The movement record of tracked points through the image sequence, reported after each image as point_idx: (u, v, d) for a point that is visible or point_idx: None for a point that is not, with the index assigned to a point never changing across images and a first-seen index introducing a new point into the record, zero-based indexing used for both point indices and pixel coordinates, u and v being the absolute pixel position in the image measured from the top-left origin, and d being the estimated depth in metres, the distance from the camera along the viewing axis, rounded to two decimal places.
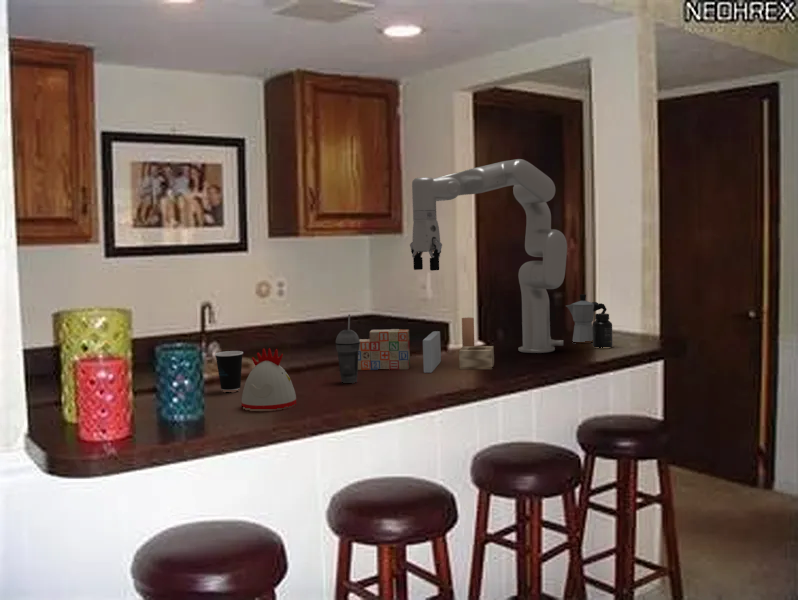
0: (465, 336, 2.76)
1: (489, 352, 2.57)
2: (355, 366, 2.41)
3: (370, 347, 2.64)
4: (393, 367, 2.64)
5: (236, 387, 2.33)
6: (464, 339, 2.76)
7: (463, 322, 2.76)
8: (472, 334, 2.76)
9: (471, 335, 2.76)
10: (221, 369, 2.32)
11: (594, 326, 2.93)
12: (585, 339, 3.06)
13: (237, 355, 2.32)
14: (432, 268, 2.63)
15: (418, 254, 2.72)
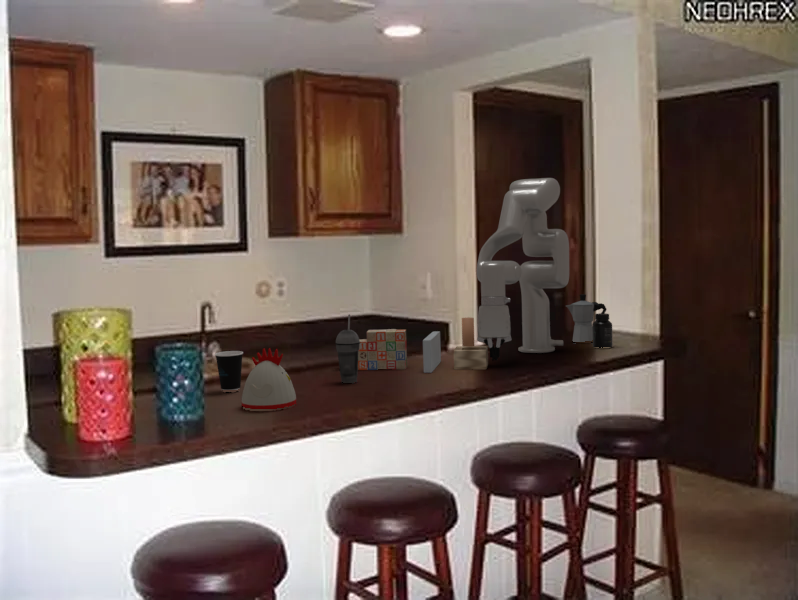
0: (465, 336, 2.76)
1: (483, 352, 2.58)
2: (355, 366, 2.41)
3: (368, 348, 2.64)
4: (390, 367, 2.64)
5: (236, 387, 2.33)
6: (464, 339, 2.76)
7: (463, 322, 2.76)
8: (472, 334, 2.76)
9: (471, 335, 2.75)
10: (221, 369, 2.32)
11: (594, 326, 2.93)
12: (585, 339, 3.06)
13: (237, 355, 2.32)
14: (497, 358, 2.61)
15: None
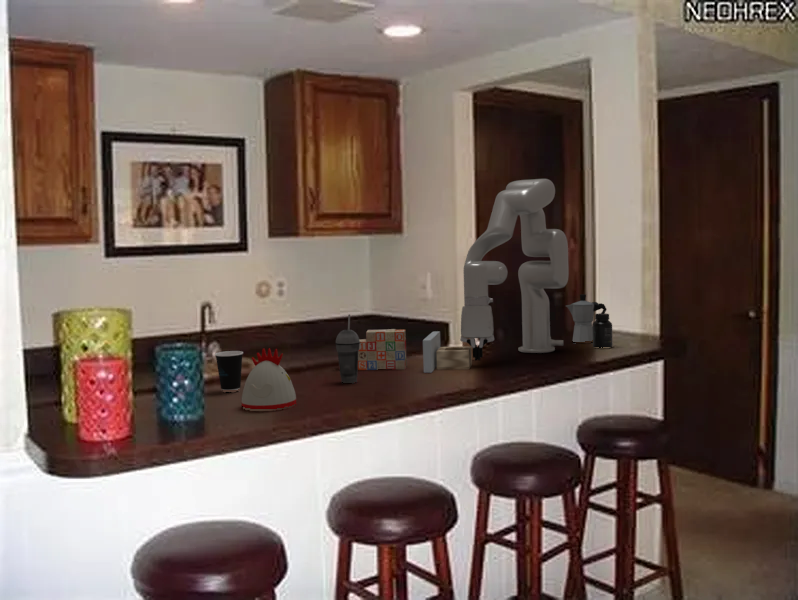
0: None
1: (466, 352, 2.59)
2: (355, 366, 2.41)
3: (367, 348, 2.64)
4: (390, 367, 2.64)
5: (236, 387, 2.33)
6: None
7: None
8: None
9: None
10: (221, 369, 2.32)
11: (594, 326, 2.93)
12: (585, 339, 3.06)
13: (237, 355, 2.32)
14: (479, 358, 2.62)
15: None
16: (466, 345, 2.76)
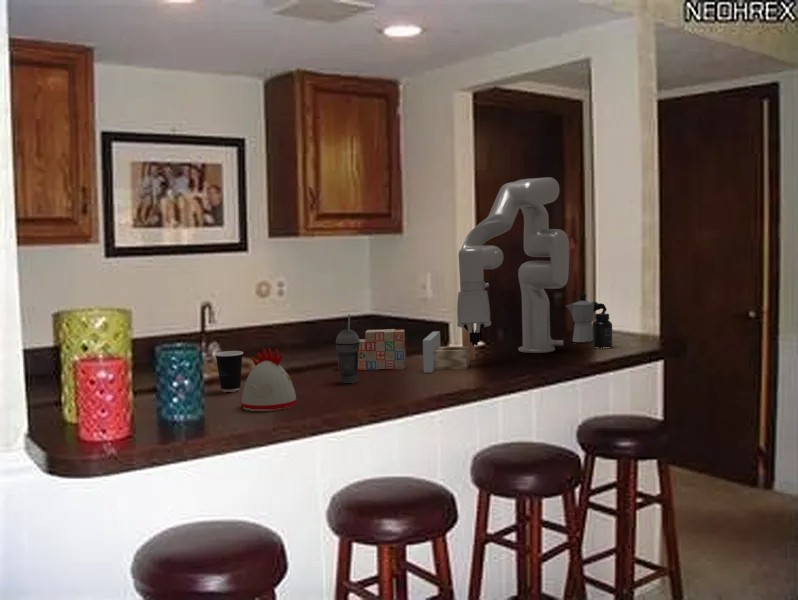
0: (465, 336, 2.76)
1: (463, 352, 2.59)
2: (355, 366, 2.41)
3: (366, 348, 2.64)
4: (389, 367, 2.64)
5: (236, 387, 2.33)
6: (464, 339, 2.76)
7: None
8: None
9: None
10: (221, 369, 2.32)
11: (594, 326, 2.93)
12: (585, 339, 3.06)
13: (237, 355, 2.32)
14: (477, 343, 2.63)
15: None
16: (466, 345, 2.76)
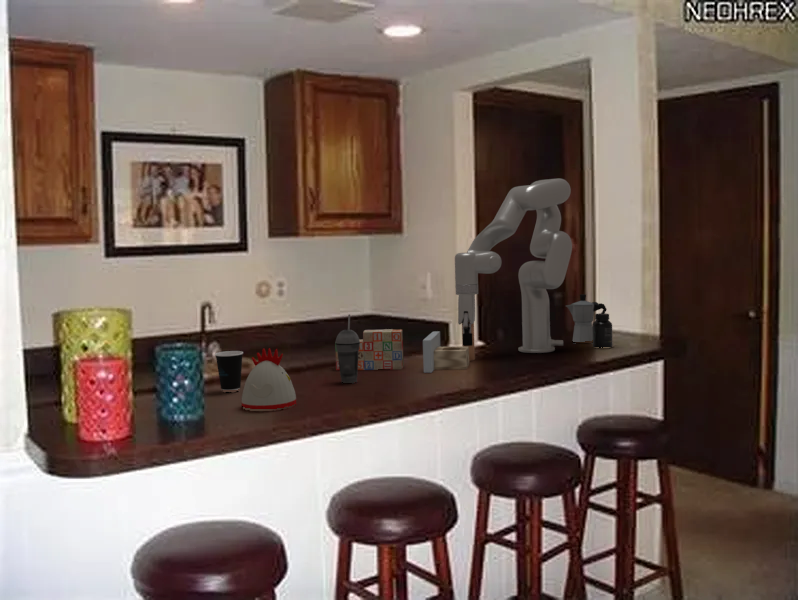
0: None
1: (463, 352, 2.59)
2: (355, 366, 2.41)
3: (364, 348, 2.64)
4: (387, 367, 2.64)
5: (236, 387, 2.33)
6: None
7: None
8: (472, 334, 2.76)
9: None
10: (221, 369, 2.32)
11: (594, 326, 2.93)
12: (585, 339, 3.06)
13: (237, 355, 2.32)
14: None
15: None
16: None
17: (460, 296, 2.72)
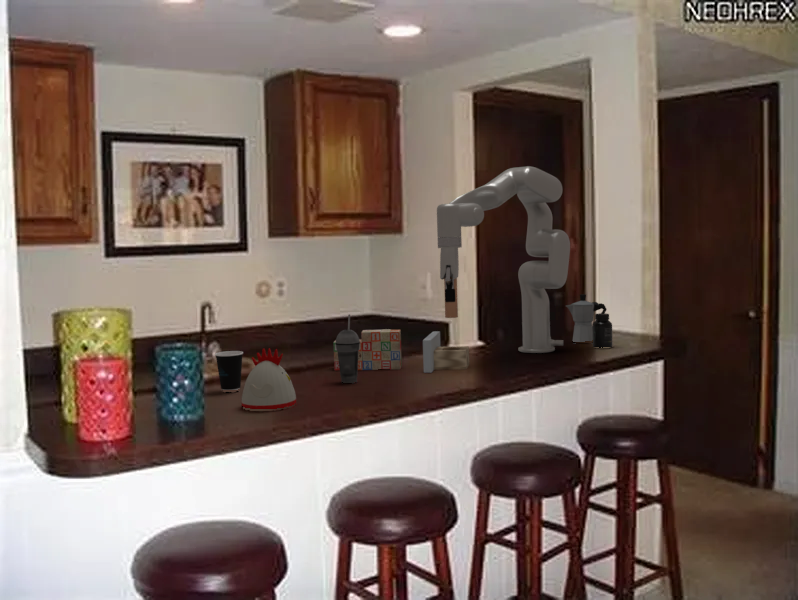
0: None
1: (463, 352, 2.59)
2: (355, 366, 2.41)
3: (362, 348, 2.64)
4: (385, 367, 2.64)
5: (236, 387, 2.33)
6: None
7: None
8: (455, 290, 2.61)
9: None
10: (221, 369, 2.32)
11: (594, 326, 2.93)
12: (585, 339, 3.06)
13: (237, 355, 2.32)
14: None
15: None
16: None
17: (442, 249, 2.58)
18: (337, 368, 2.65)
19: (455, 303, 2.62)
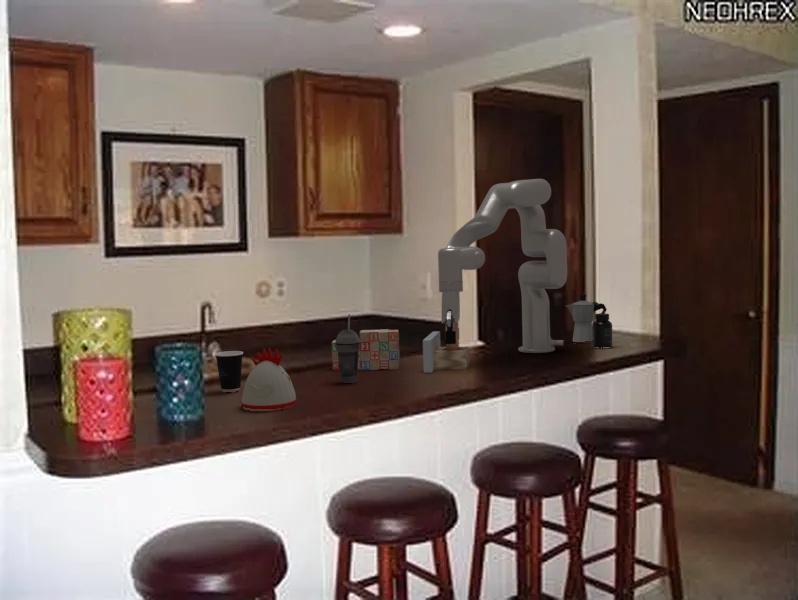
0: None
1: (463, 353, 2.59)
2: (355, 366, 2.41)
3: (361, 348, 2.64)
4: (383, 367, 2.64)
5: (236, 387, 2.33)
6: None
7: None
8: (456, 337, 2.63)
9: None
10: (222, 369, 2.32)
11: (594, 326, 2.93)
12: (585, 339, 3.06)
13: (237, 355, 2.32)
14: None
15: None
16: (450, 349, 2.63)
17: (443, 294, 2.59)
18: (335, 368, 2.65)
19: None
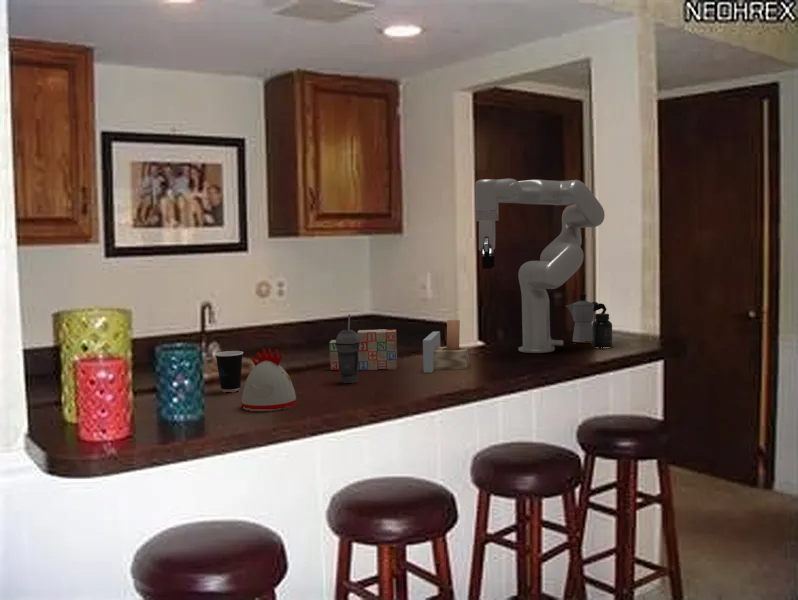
0: (449, 339, 2.63)
1: (463, 353, 2.59)
2: (355, 366, 2.41)
3: None
4: (381, 367, 2.64)
5: (236, 387, 2.33)
6: (448, 343, 2.63)
7: (448, 324, 2.63)
8: (457, 337, 2.63)
9: (456, 338, 2.63)
10: (222, 369, 2.32)
11: (594, 326, 2.93)
12: (585, 339, 3.06)
13: (237, 355, 2.32)
14: None
15: None
16: (450, 349, 2.63)
17: (481, 222, 2.74)
18: (333, 368, 2.65)
19: None
